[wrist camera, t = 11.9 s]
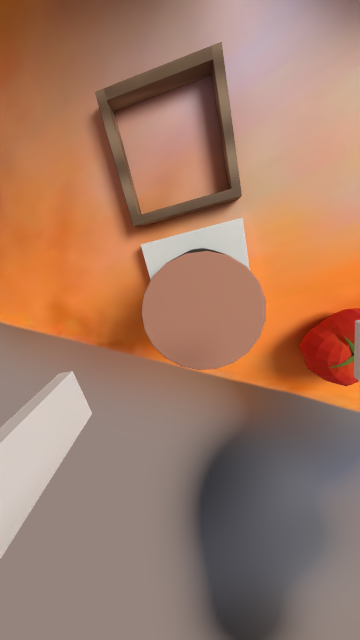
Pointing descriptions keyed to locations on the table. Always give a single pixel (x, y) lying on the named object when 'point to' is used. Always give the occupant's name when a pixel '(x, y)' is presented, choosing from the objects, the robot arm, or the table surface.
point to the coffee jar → (203, 309)
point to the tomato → (332, 347)
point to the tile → (198, 244)
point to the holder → (156, 84)
